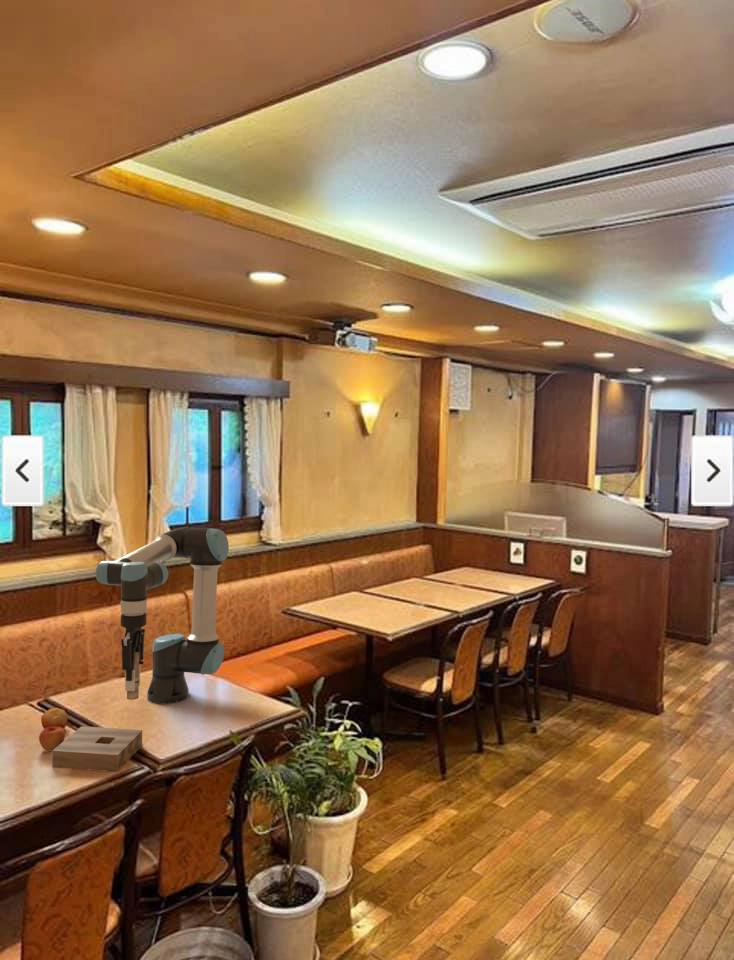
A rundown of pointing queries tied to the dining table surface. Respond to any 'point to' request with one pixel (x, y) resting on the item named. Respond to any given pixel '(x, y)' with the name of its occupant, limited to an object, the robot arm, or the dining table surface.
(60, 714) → the fruit
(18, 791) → the dining table surface
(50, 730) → the apple
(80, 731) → the board
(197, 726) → the dining table surface
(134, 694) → the peg
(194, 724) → the dining table surface
